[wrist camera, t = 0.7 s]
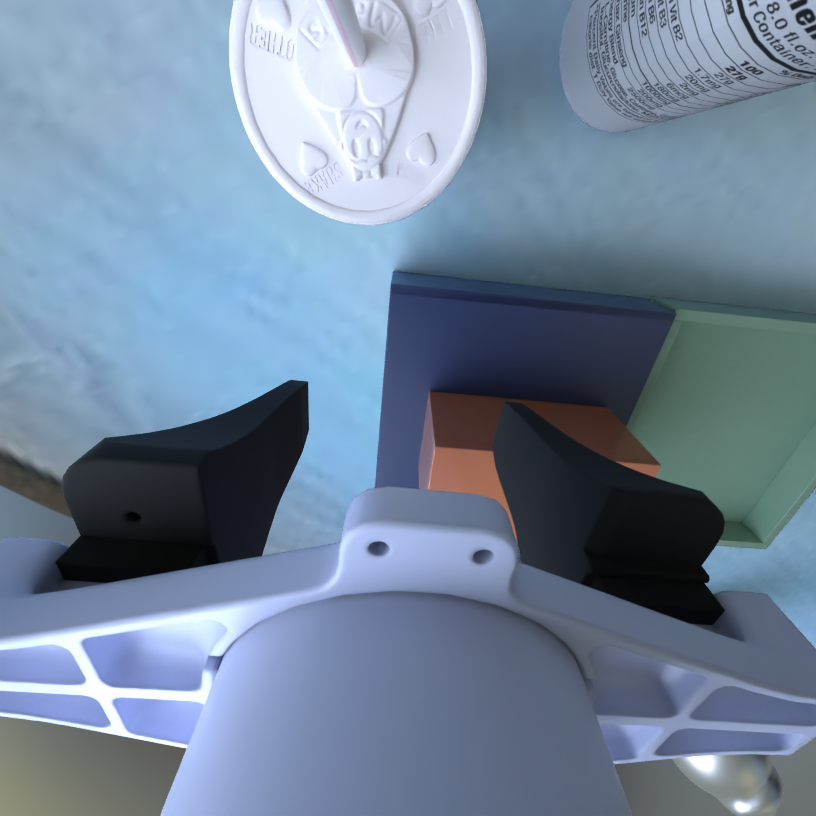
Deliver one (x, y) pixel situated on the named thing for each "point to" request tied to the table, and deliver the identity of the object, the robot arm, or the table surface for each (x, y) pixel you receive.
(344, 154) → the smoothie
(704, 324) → the tray
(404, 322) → the book
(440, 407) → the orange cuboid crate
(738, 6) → the energy drink can
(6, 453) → the table surface
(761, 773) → the ghost figurine
